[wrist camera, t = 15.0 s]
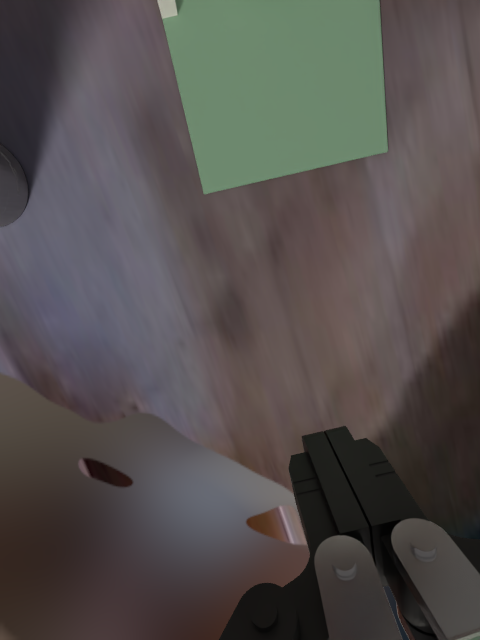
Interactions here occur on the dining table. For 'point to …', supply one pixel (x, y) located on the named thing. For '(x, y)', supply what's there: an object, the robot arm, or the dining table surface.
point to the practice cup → (277, 84)
